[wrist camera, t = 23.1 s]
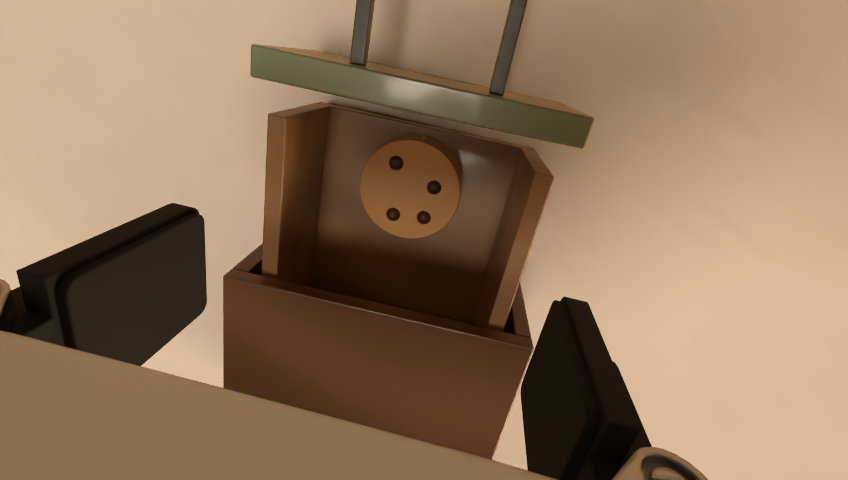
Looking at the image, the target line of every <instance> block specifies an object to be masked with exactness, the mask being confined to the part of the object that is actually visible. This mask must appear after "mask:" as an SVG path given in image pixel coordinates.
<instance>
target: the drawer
mask: <svg viewBox="0 0 848 480" xmlns="http://www.w3.org/2000/svg"><path fill="white" fill-rule="evenodd" d="M527 1H528V0H511V2H510V6H509V11H508V15H507V19H506V23H505V27H504V31H503V35H502V39H501V43H500V47H499V52H498V56H497V60H496V64H495V68H494V72H493V76H492V80H491V84H490V88H487V87H483V86H478V85H473V84H469V83H464V82H459V81H455V80H450V79H445V78H441V77H436V76H431V75H427V74H422V73H417V72H413V71H408V70H403V69H399V68H394V67H390V66H385V65H380V64H376V63H371V62H367V57H368V49H369V41H370V34H371V26H372V18H373V10H374V2H375V0H357V3H356V12H355V21H354V30H353V38H352V47H351V56H350V58H348V57H343V56H338V55H334V54H329V53H324V52H320V51H315V50H305V49H296V48H286V47H276V46H266V45H256V44H253V45H252V46H251V76H252V77H255V78H259V79H264V80H269V81H273V82H278V83H282V84H287V85H292V86H296V87H301V88H305V89H310V90H314V91H319V92H324V93H328V94H333V95H337V96H342V97H346V98H351V99H356V100H360V101H365V102H369V103H374V104H379V105H383V106H388V107H392V108H397V109H401V110H406V111H411V112H415V113H420V114H424V115H429V116H434V117H438V118H443V119H447V120H452V121H456V122H461V123H466V124H470V125H475V126H479V127H484V128H489V129H493V130H498V131H502V132H507V133H511V134H516V135H521V136H525V137H530V138H534V139H539V140H544V141H548V142H553V143H557V144H562V145H566V146H571V147H576V148H580V149H582V148H584V146H585V143H586V141H587V138H588V135H589V132H590V129H591V126H592V123H593V121H594V118H592V117H590V116H588V115H586V114H583V113H581V112H579V111H577V110H574V109H572V108H570V107H567V106H565V105H563V104H561V103H557V102H552V101H548V100H543V99H538V98H534V97H529V96H524V95H520V94H515V93H510V92H506V91H504V90H505V86H506V82H507V78H508V74H509V70H510V67H511V63H512V59H513V55H514V51H515V47H516V43H517V39H518V36H519V32H520V28H521V24H522V20H523V16H524V12H525V8H526V5H527ZM410 133H418V134H424V135H428V136H431V137H433V138H435V139H437V140H439V141H440V142H442V143H443V144H444V145H446V146H447V147H448V148H449V149H450V151H451V152H452V153H453V155H454V156H455V158H456V160H457V161H458V164H459V167H460V170H461V177H462V186H461V194H460V200H459V205H458V208H457V210H456V212H455V214H454V216H453V217H452V219H451V220H450V221H449V223H448V224H447V225H446V226H445V227H443V228H442V229H441V230H439V231H438V232H436V233H434V234H432V235H429V236H426V237H422V238H403V237H398V236H395V235H392V234H390V233H388V232H386V231H385V230H383V229H382V228H380V227H379V226H378V225H377V224H376V223H374V222H373V220H372V219H371V218H370V217H369V215H368V214H367V212H366V210H365V208H364V206H363V203H362V200H361V196H360V187H359V186H360V177H361V173H362V170H363V168H364V166H365V164H366V162H367V161H368V159H369V158H370V156H371V155H372V154H373V153H374V152H375V151H377V150H378V149H379V148H380V147H381V146H383V145H384V144H385V143H386V142H388V141H389V140H391V139H392V138H395V137H397V136H400V135H403V134H410ZM553 179H554V176H553V175H552V174H551V172H550V171H549V169H548V168H547V166H546V165H545V164H544V162H543V161H542V159H541V158H540V156H539V155H538V154H537V152H536V151H535V150H534V149H533V148H529V147H524V146H520V145H515V144H511V143H506V142H502V141H497V140H492V139H488V138H483V137H479V136H474V135H470V134H465V133H460V132H456V131H451V130H447V129H442V128H438V127H433V126H428V125H424V124H419V123H415V122H410V121H406V120H401V119H397V118H392V117H387V116H383V115H378V114H374V113H369V112H365V111H360V110H355V109H351V108H346V107H342V106H337V105H333V104H328V103H323V102H319V103H314V104H310V105H306V106H301V107H297V108H292V109H288V110H284V111H279V112H275V113H270V114H268V133H267V157H266V182H265V206H264V230H263V255H262V276H265V277H269V278H274V279H278V280H282V281H287V282H291V283H295V284H299V285H304V286H308V287H312V288H317V289H321V290H325V291H329V292H334V293H338V294H342V295H347V296H351V297H355V298H359V299H364V300H368V301H372V302H377V303H381V304H385V305H389V306H394V307H398V308H402V309H407V310H411V311H415V312H419V313H424V314H428V315H432V316H437V317H441V318H445V319H449V320H454V321H458V322H462V323H467V324H471V325H475V326H479V327H484V328H488V329H492V330H497V331H501V332H503V330H504V327H505V324H506V321H507V318H508V315H509V312H510V309H511V306H512V303H513V300H514V297H515V294H516V291H517V288H518V284H519V281H520V278H521V275H522V272H523V269H524V266H525V263H526V260H527V257H528V254H529V251H530V248H531V245H532V242H533V239H534V236H535V233H536V230H537V227H538V224H539V221H540V218H541V215H542V212H543V209H544V206H545V203H546V200H547V197H548V194H549V191H550V188H551V185H552V182H553Z"/></svg>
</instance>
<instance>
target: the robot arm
mask: <svg viewBox="0 0 848 480" xmlns="http://www.w3.org/2000/svg"><path fill="white" fill-rule="evenodd" d="M17 275H18V279H19V283H20V287H18V288H16V289H14V290H12V291H11V290H10V286H9V284H8V283H7V282H5V281H4V280H1V279H0V480H708V479H707V478H706V477H705V476H704V475H703V474H702V473H701V472H700V471H699V470H698V469H696V468H695V467H694V466H693V465H692V464H690V463H689V462H688V461H686V460H684V459H683V458H681V457H679V456H678V455H676V454H674V453H672V452H669V451H667V450H664V449H661V448H656V447H652V446H651V444H650V442H649V439H648V437H647V435H646V432H645V430H644V428H643V425H642V423H641V420H640V418H639V416H638V413H637V411H636V409H635V406H634V404H633V402H632V399H631V397H630V395H629V392H628V390H627V387H626V385H625V383H624V380H623V378H622V376H621V373H620V371H619V369H618V367H617V365H616V363H615V362H613V361H612V360H611V357H610V355H609V353H608V350H607V348H606V345H605V343H604V341H603V338H602V336H601V333H600V331H599V328H598V326H597V324H596V321H595V319H594V316H593V314H592V311H591V309H590V307H589V304H588V303H587V302H584V301H580V300H576V299H572V298H568V297H563V298H562V299H561V301H556V300H555V301H553V303H552V305H551V308H550V310H549V313H548V316H547V318H546V321H545V323H544V326H543V329H542V331H541V334H540V337H539V339H538V342H537V345H536V347H535V350H534V353H533V355H532V358H531V361H530V363H529V366H528V369H527V371H526V374H525V377H524V379H523V382H522V387H521V402H522V413H523V423H524V434H525V445H526V455H527V466H528V471H527V470H524V469H520V468H517V467H514V466H511V465H507V464H504V463H501V462H497V461H494V460H491V459H487V458H483V457H479V456H476V455H472V454H468V453H465V452H461V451H457V450H454V449H450V448H446V447H442V446H439V445H435V444H431V443H428V442H424V441H420V440H416V439H413V438H409V437H405V436H402V435H398V434H394V433H391V432H387V431H383V430H379V429H376V428H372V427H368V426H365V425H361V424H357V423H353V422H349V421H346V420H342V419H338V418H334V417H331V416H327V415H323V414H319V413H315V412H312V411H308V410H304V409H300V408H296V407H293V406H289V405H285V404H281V403H277V402H274V401H270V400H266V399H262V398H258V397H255V396H251V395H247V394H243V393H240V392H236V391H232V390H228V389H224V388H221V387H217V386H213V385H209V384H206V383H202V382H198V381H194V380H190V379H187V378H183V377H179V376H175V375H172V374H168V373H164V372H160V371H156V370H153V369H149V368H145V367H141V365H142V364H144V363H145V362H146V361H147V360H148V359H149V358H151V357H152V356H153V355H154V354H155V353H156V352H157V351H159V350H160V349H161V348H162V347H163V346H164V345H166V344H167V343H168V342H169V341H170V340H171V339H172V338H174V337H175V336H176V335H177V334H178V333H179V332H181V331H182V330H183V329H184V328H185V327H186V326H188V325H189V324H190V323H191V322H192V321H193V320H194V319H196V318H197V317H198V316H199V315H200V314H201V313H202V312H203V310H204V309H205V306H206V302H207V294H206V263H205V231H204V219H203V217H202V216H201V215H199V212H198V210H197V209H195V208H192V207H187V206H183V205H179V204H175V203H171V204H168V205H166V206H164V207H161V208H159V209H157V210H155V211H152V212H150V213H148V214H145V215H143V216H141V217H139V218H136V219H134V220H132V221H129V222H127V223H125V224H122V225H120V226H118V227H116V228H113V229H111V230H109V231H106V232H104V233H102V234H100V235H97V236H95V237H93V238H90V239H88V240H86V241H84V242H81V243H79V244H77V245H74V246H72V247H70V248H68V249H65V250H63V251H61V252H58V253H56V254H54V255H51V256H49V257H47V258H45V259H42V260H40V261H38V262H35V263H33V264H31V265H29V266H26V267H24V268H22V269H19V270H17Z"/></svg>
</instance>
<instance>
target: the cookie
mask: <svg viewBox="0 0 848 480" xmlns="http://www.w3.org/2000/svg"><path fill="white" fill-rule="evenodd" d="M461 186H462V177H461V170H460V167H459V164H458V161H457V160H456V158H455V156H454V155H453V153H452V152H451V151H450V149H449V148H448V147H447V146H446V145H444V144H443V143H442V142H440V141H439V140H437V139H435V138H433V137H431V136H428V135H424V134H418V133H410V134H403V135H400V136H397V137H395V138H392V139H391V140H389V141H388V142H386V143H385V144H384V145H383V146H381V147H380V148H379V149H378V150H377V151H375V152H374V153H373V154H372V155H371V156H370V158H369V159H368V161H367V162H366V164H365V166H364V168H363V170H362V173H361V177H360V186H359V187H360V196H361V200H362V203H363V206H364V208H365V210H366V212H367V214H368V215H369V217H370V218H371V219H372V220H373V222H374V223H376V224H377V225H378V226H379V227H380V228H382V229H383V230H385V231H386V232H388V233H390V234H392V235H395V236H398V237H403V238H422V237H426V236H429V235H432V234H434V233H436V232H438V231H439V230H441V229H442V228H443V227H445V226H446V225H447V224H448V223H449V221H450V220H451V219H452V217H453V216H454V214H455V212H456V210H457V208H458V205H459V200H460V194H461Z"/></svg>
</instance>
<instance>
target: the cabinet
mask: <svg viewBox="0 0 848 480" xmlns="http://www.w3.org/2000/svg"><path fill="white" fill-rule="evenodd" d="M262 255H263V244H261V245H260V246H259V247H258V248H256V249H255V250H254V251H253V252H252V253H250V254H249V255H248V256H247V257H246V258H244V259H243V260H242V261H241V262H240V263H238V264H237V265H236V266H235V267H233V269H231V270H230V271H229V272H228V273H227V274H225V275H224V277H223V315H224V389H228V390H232V391H236V392H240V393H243V394H247V395H251V396H255V397H258V398H262V399H266V400H270V401H274V402H277V403H281V404H285V405H289V406H293V407H296V408H300V409H304V410H308V411H312V412H315V413H319V414H323V415H327V416H331V417H334V418H338V419H342V420H346V421H349V422H353V423H357V424H361V425H365V426H368V427H372V428H376V429H379V430H383V431H387V432H391V433H394V434H398V435H402V436H405V437H409V438H413V439H416V440H420V441H424V442H428V443H431V444H435V445H439V446H442V447H446V448H450V449H454V450H457V451H461V452H465V453H468V454H472V455H476V456H479V457H483V458H487V459H491V460H492V458H493V456H494V453H495V450H496V448H497V445H498V442H499V440H500V437H501V434H502V432H503V429H504V426H505V424H506V421H507V418H508V416H509V413H510V410H511V408H512V405H513V402H514V400H515V397H516V394H517V392H518V389H519V386H520V384H521V381H522V378H523V376H524V373H525V370H526V368H527V365H528V362H529V360H530V357H531V354H532V352H533V344H532V339H531V334H530V329H529V324H528V319H527V315H526V310H525V305H524V300H523V295H522V290H521V285H520V281H519V284H518V288H517V291H516V294H515V297H514V300H513V303H512V306H511V309H510V312H509V315H508V318H507V321H506V324H505V327H504V330H503V332H501V331H497V330H492V329H488V328H484V327H479V326H475V325H471V324H467V323H462V322H458V321H454V320H449V319H445V318H441V317H437V316H432V315H428V314H424V313H419V312H415V311H411V310H407V309H402V308H398V307H394V306H389V305H385V304H381V303H377V302H372V301H368V300H364V299H359V298H355V297H351V296H347V295H342V294H338V293H334V292H329V291H325V290H321V289H317V288H312V287H308V286H304V285H299V284H295V283H291V282H287V281H282V280H278V279H274V278H269V277H265V276H262Z"/></svg>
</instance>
